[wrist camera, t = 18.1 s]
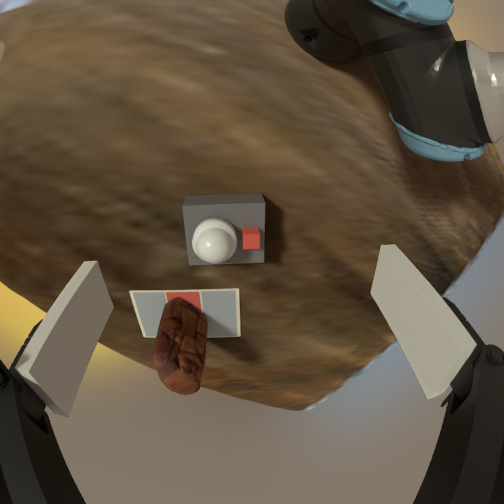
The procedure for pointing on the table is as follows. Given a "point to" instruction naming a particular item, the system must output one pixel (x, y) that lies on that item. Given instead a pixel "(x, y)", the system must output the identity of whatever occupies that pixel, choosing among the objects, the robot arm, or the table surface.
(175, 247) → the table surface
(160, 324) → the wooden figurine
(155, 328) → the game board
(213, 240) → the dome
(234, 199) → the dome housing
